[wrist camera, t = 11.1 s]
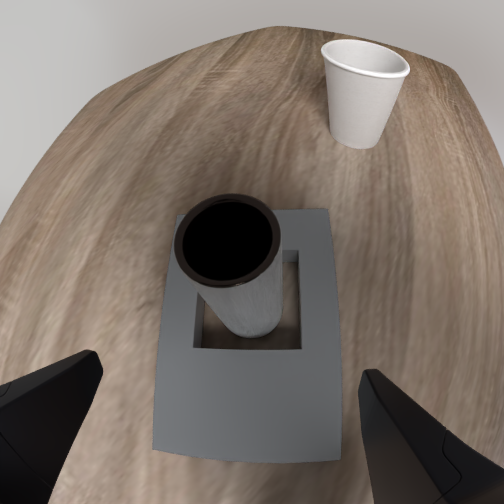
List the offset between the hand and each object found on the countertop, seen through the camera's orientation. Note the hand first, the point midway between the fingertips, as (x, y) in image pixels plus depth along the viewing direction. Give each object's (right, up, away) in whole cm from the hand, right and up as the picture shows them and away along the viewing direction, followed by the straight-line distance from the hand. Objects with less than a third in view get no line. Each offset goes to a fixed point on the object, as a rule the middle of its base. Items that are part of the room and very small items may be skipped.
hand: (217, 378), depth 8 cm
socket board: (+1, -2, +12) cm, 12 cm away
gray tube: (+1, 0, +13) cm, 13 cm away
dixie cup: (+12, +17, +20) cm, 29 cm away
